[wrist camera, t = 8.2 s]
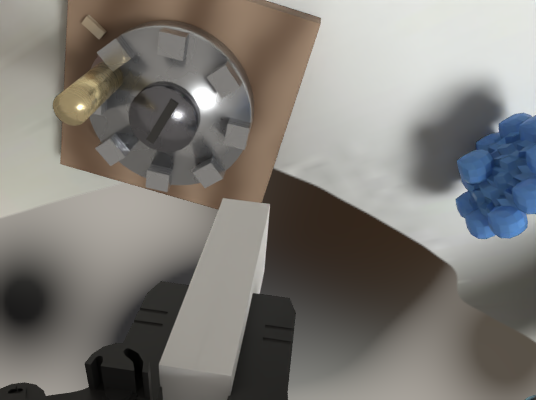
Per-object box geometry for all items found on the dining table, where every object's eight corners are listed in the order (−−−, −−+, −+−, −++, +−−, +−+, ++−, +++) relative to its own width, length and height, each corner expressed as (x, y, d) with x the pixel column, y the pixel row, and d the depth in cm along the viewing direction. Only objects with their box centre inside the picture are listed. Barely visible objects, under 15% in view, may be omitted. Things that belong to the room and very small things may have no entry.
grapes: (476, 68, 41) (524, 128, 31) (549, 94, 42) (619, 161, 32) (413, 181, 48) (436, 260, 38) (478, 202, 48) (517, 286, 38)
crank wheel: (139, -17, 38) (89, 10, 30) (286, 87, 42) (275, 136, 34) (73, 117, 45) (17, 168, 37) (203, 197, 49) (178, 260, 41)
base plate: (320, 18, 41) (320, 25, 38) (258, 209, 51) (255, 223, 49) (81, -59, 39) (67, -55, 37) (69, 154, 50) (58, 166, 48)
